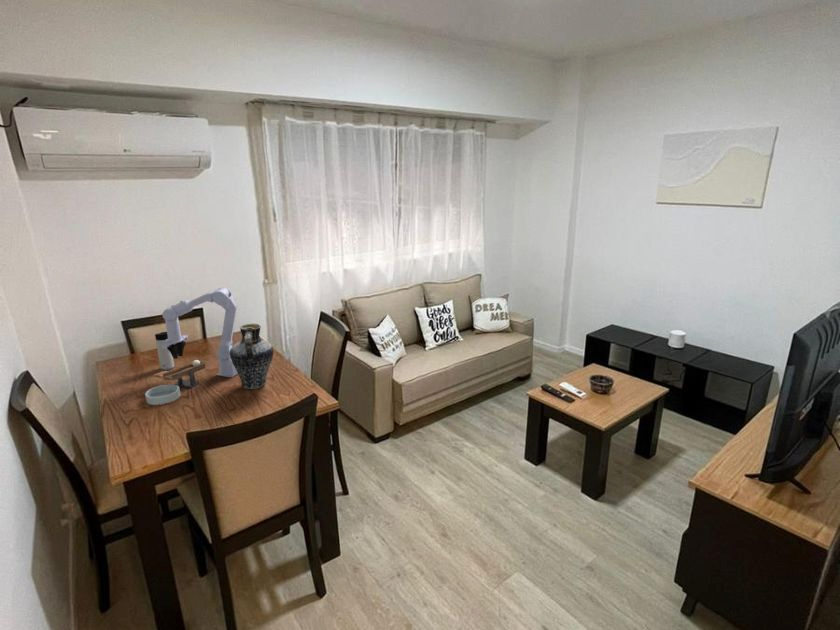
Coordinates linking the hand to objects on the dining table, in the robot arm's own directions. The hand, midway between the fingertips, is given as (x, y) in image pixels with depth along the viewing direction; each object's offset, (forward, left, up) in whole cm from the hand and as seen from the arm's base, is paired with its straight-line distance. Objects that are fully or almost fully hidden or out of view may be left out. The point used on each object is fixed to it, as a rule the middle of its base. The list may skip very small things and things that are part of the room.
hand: (177, 357), depth 223 cm
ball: (-10, -1, -2) cm, 10 cm away
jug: (-42, -2, -11) cm, 43 cm away
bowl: (-10, +21, -10) cm, 25 cm away
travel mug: (+14, -6, -11) cm, 19 cm away
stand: (-10, +7, -10) cm, 16 cm away
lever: (-7, +7, -5) cm, 11 cm away
